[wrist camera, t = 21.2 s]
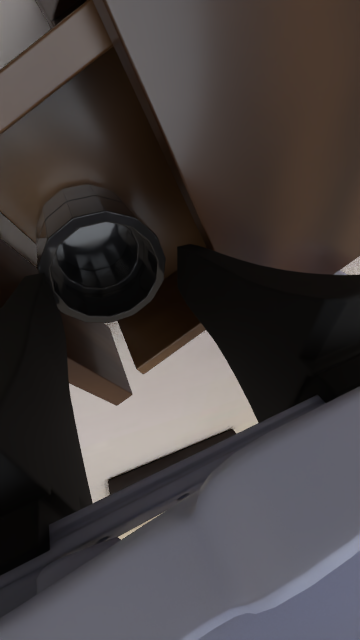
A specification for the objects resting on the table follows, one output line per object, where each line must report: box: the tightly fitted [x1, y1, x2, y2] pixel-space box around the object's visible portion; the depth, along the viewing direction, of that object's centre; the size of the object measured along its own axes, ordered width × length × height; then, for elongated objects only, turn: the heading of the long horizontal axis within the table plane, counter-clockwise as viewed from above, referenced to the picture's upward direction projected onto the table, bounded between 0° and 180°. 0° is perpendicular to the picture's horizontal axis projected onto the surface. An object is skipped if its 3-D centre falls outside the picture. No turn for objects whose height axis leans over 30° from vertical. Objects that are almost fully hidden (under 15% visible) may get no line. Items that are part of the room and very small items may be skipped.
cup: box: [36, 184, 166, 323], centre depth 12 cm, size 5×5×4 cm
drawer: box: [0, 0, 207, 405], centre depth 12 cm, size 16×13×6 cm
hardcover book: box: [108, 429, 236, 495], centre depth 47 cm, size 16×23×2 cm
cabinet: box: [35, 0, 360, 275], centre depth 12 cm, size 13×15×8 cm
